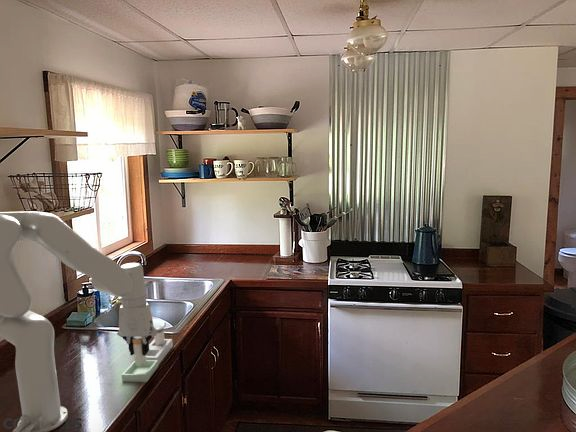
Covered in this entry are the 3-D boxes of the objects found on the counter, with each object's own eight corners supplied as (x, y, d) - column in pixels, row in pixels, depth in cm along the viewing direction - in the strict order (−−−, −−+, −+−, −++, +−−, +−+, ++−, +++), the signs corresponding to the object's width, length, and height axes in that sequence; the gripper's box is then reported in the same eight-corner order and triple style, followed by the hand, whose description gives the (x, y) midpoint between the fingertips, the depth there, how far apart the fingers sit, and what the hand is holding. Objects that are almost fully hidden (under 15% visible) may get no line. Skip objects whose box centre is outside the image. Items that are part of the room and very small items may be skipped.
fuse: (163, 352, 171) (161, 329, 169) (153, 352, 171) (151, 329, 169) (167, 348, 174) (165, 325, 173) (157, 348, 175) (155, 325, 173)
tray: (146, 382, 150) (145, 375, 150) (122, 381, 151) (121, 374, 150) (158, 366, 160) (157, 360, 160) (135, 366, 161) (135, 359, 160)
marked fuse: (143, 366, 153) (141, 340, 151) (133, 366, 154) (130, 340, 152) (148, 360, 157) (145, 335, 155) (137, 360, 157) (135, 335, 155)
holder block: (157, 365, 161) (157, 357, 160) (138, 365, 162) (137, 357, 161) (172, 346, 176) (172, 339, 175) (155, 346, 176) (154, 338, 176)
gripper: (104, 305, 148) (110, 358, 152) (154, 305, 147) (159, 359, 150) (115, 297, 156) (121, 348, 159) (162, 296, 154) (167, 348, 157)
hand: (139, 353), depth 154 cm, fingers closed on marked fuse, 3 cm apart
